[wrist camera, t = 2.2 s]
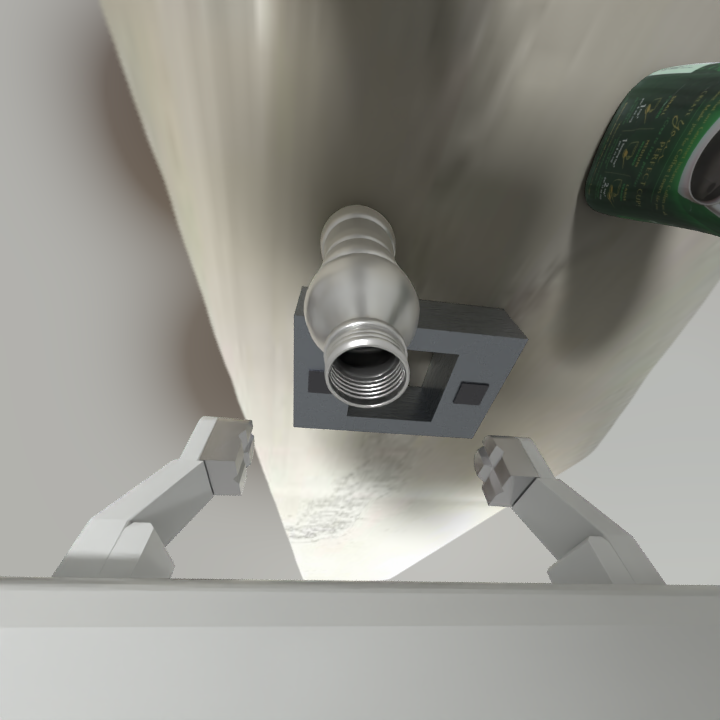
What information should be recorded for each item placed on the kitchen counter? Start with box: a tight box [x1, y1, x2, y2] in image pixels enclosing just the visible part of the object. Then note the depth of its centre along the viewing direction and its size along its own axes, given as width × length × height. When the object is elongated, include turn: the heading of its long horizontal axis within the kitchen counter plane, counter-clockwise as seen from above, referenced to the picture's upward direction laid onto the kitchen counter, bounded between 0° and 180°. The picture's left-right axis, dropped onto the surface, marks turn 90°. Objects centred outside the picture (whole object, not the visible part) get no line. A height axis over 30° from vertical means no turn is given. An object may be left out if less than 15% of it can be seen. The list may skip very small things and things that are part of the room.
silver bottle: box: [304, 205, 420, 408], centre depth 21 cm, size 6×7×20 cm
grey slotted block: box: [294, 286, 528, 439], centre depth 35 cm, size 15×22×6 cm
